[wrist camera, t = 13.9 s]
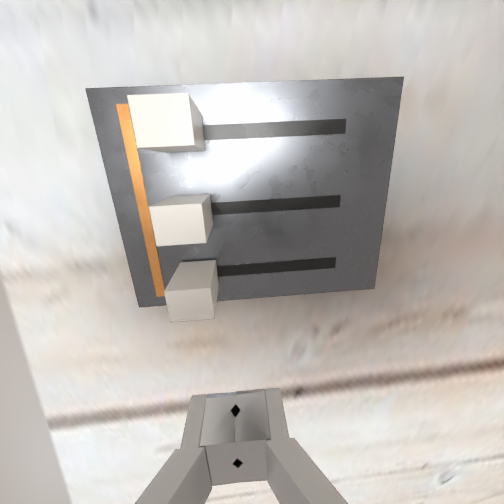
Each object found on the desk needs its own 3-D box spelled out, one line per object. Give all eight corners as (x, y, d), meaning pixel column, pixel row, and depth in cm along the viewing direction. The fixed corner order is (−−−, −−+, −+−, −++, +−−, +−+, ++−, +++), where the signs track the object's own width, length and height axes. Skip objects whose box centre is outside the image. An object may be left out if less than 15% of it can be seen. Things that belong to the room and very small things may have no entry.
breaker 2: (209, 194, 19) (201, 203, 14) (213, 224, 19) (206, 243, 15) (170, 196, 18) (148, 206, 14) (175, 226, 19) (156, 246, 15)
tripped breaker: (216, 259, 20) (210, 287, 16) (218, 285, 21) (214, 318, 17) (180, 262, 20) (164, 291, 16) (184, 287, 21) (170, 322, 16)
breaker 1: (201, 113, 17) (188, 92, 12) (205, 150, 18) (194, 145, 13) (157, 115, 17) (127, 95, 12) (163, 152, 17) (137, 147, 13)
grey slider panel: (386, 85, 19) (404, 76, 17) (363, 279, 25) (374, 289, 23) (101, 96, 18) (84, 87, 16) (146, 296, 24) (138, 307, 22)
